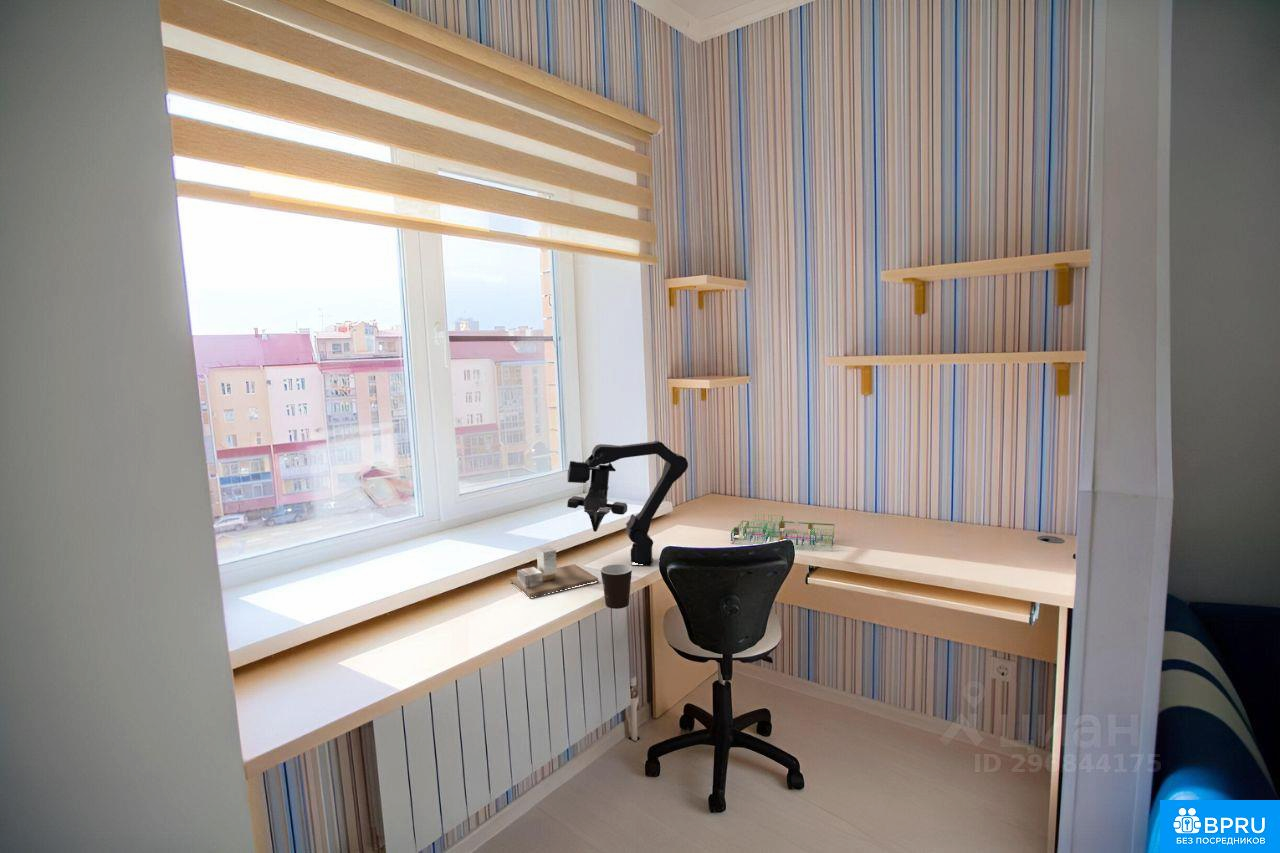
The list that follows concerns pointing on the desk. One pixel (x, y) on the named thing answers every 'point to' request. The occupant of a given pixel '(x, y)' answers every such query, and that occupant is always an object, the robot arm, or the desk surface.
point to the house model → (781, 525)
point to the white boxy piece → (547, 562)
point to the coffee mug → (616, 585)
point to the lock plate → (565, 579)
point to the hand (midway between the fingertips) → (595, 531)
